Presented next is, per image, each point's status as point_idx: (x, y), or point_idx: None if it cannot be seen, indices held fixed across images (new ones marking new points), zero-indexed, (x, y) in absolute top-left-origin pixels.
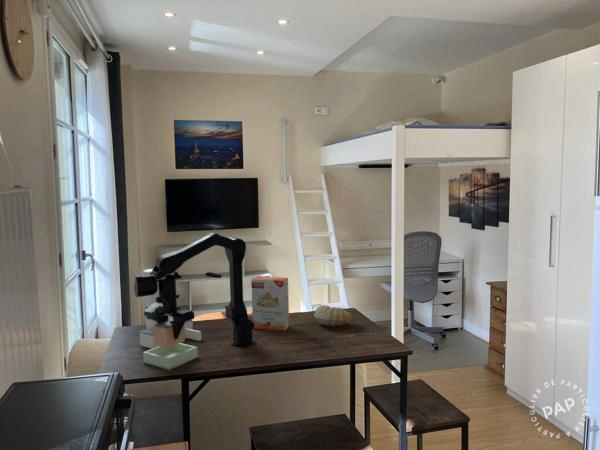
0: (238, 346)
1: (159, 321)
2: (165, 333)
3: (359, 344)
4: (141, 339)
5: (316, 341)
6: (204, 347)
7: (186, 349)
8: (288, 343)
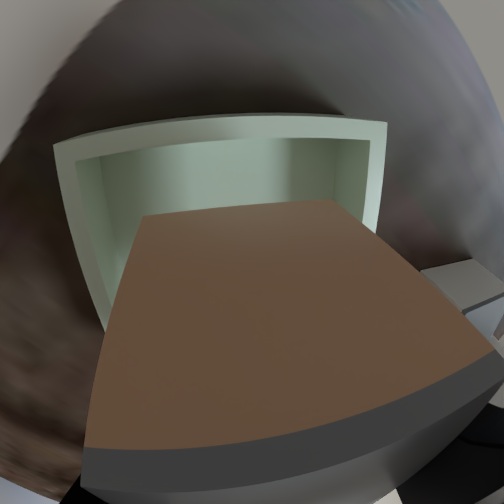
0: None
1: (466, 452)
2: (121, 347)
3: (7, 471)
4: (485, 274)
5: (50, 476)
6: None
7: None
8: (68, 468)
